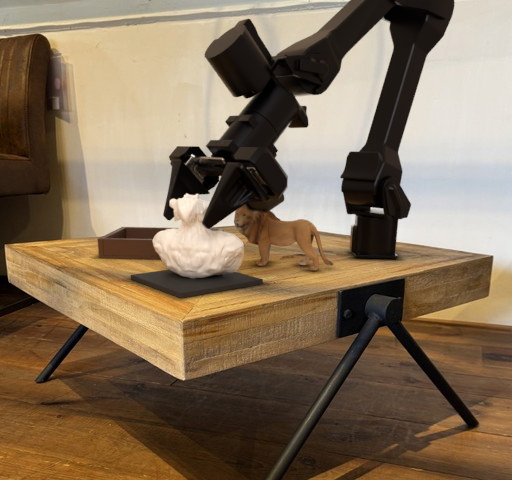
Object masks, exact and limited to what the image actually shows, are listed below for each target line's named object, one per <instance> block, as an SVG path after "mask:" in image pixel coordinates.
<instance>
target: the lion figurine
mask: <svg viewBox="0 0 512 480" xmlns="http://www.w3.org/2000/svg"><path fill="white" fill-rule="evenodd" d="M233 225H234V226H235V228H236V230H237V231H238V233H240V234H241V235H242V236H243V237H245V238H246V239H247V242H248V243H250V244H252V245H257V247H258V251H259V255H260V258H259V260H258V261H256V266H258V267H263V266H265V265H267V263H268V262H269V259H270V252H271V245H272V246H277V247H287V246H291V245H293V244H295V243H296V244H297V245H298V247H299V248H300V250H301V251H302V252H303V253H304V258H303V259H300V260H299V261H298V265H299V266H307V265H308V264H309V262H310V260H311V261H312V264H310V265H309V266H308V269H309V271H318V270H319V267H320V260H319V255H320V258H321V260H322V261H323V263H324V264H325V265H327V266H331V267H332V266H334V263H333V262H332V261H330V260H329V259H328V258H326V256H325V255H324V250H323V244H322V240H321V235H320V234H319V230H318V229H317V227H316V226H315V224H314V223H313V222H312V221H309V220H307V219H304V218H301V219H296V220H281V219H280V218H278V217H277V216H276V215H275V213H274V212H273V211H271V210H270V211H268V212H267V213H263V212H260V211H250V210H249V209H248V208H247V207H246V205H243V206H242V207H240V208H239V209H237V210H236V211H234V219H233ZM314 238H315V243H316V245H317V249H318V252H319V254H318V252H317V251H316V250H315V249H314V246H313V242H314Z"/></svg>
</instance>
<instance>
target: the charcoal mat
mask: <svg viewBox="0 0 512 480" xmlns="http://www.w3.org/2000/svg"><path fill="white" fill-rule="evenodd" d="M130 280H132V281H135V282H137V283H140V284H143V285H145V286H148V287H151V288H153V289H155V290H159V291H161V292H164V293H165V294H168V295H172V296H175V297H176V298H179V299H184V298H190V297H196V296H201V295H202V296H203V295H207V294H213V293H218V292H219V293H220V292H224V291H225V292H226V291H230V290H236V289H242V288H248V287H252V286H258V285H263V284H264V279H263V278H260V277H256V276H253V275H249V274H245V273H243V272H238V271H236V272H234V273H227V274H221V275H212V276H208V277H205V278H195V279H192V278H188V277H182V276H180V275H179V274H177V273H175V272H173V271H171V270H169V269H163V270H156V271H155V270H154V271H149V272H141V273H135V274H130Z"/></svg>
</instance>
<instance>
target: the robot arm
mask: <svg viewBox="0 0 512 480" xmlns="http://www.w3.org/2000/svg"><path fill="white" fill-rule="evenodd" d="M455 3H456V2H455V0H349V1H348V2H347V3H346V4H345V5H344V6H343V7H342V8H340V10H339V11H337V13H335V14H334V15H333V16H332V17H331V18H330V19H329V20H327V22H325V24H323V26H322V27H320V28H319V30H317V31H316V32H314V33H313V34H311V35H309V36H307V37H304V38H303V39H300V40H298V41H295V42H294V43H292V44H291V45H288V46H287V47H286V48H284V49H283V50H281V51H279V52H278V53H276V55H273V56H272V54H271V53H270V51H269V49H268V48H267V46H266V44H265V43H264V41H263V40H262V38H261V37H260V35H259V33H258V30H257V27H256V26H255V25H254V23H253V21H252V19H251V18H246V19H242V20H239V21H238V22H237V23H236V24H235V25H234V26H233V27H232V28H230V29H228V30H227V31H225V32H224V33H223V34H222V35H220V36H219V37H218V38H215V39H214V40H212V42H211V43H210V44H209V45H208V47H207V48H206V50H205V51H204V52H205V53H204V58H205V60H206V61H207V62H208V64H209V65H210V66H211V68H212V69H213V70H214V72H215V73H216V75H217V76H218V78H219V79H220V81H221V82H222V84H223V85H224V86H225V88H226V89H227V90H228V91H229V93H230V95H231V96H232V97H234V98H240V97H243V98H244V99H249V101H248V102H247V103H246V104H245V106H243V108H242V110H241V111H240V112H239V113H238V114H237V115H229V116H228V117H227V119H226V120H225V121H224V122H225V124H226V125H227V128H226V129H225V131H224V132H223V134H222V135H221V136H220V137H219V138H218V139H210V140H209V141H208V143H207V144H206V145H205V147H206V148H207V149H208V151H209V152H210V153H211V155H210V156H208V155H207V154H206V153H205V152H204V151H203V149H201V147H200V146H198V145H197V146H194V145H191V146H190V145H189V146H188V145H187V146H185V145H183V146H182V145H178V146H176V147H175V148H174V150H173V151H172V152H171V153H170V155H169V156H168V159H169V161H170V163H169V164H170V166H171V170H170V171H171V172H170V178H169V184H168V188H167V189H168V190H167V194H166V199H165V203H164V204H165V205H164V209H163V214H162V216H163V217H164V218H165V219H166V220H167V221H171V220H173V219H174V209H173V208H171V207H170V205H169V204H170V200H171V199H176V200H177V199H179V198H183V197H184V195H186V193H188V194H190V195H196V194H199V196H200V195H210V194H211V193H210V190H212V189H214V188H215V187H216V188H215V190H214V191H213V192H214V193H213V194H212V197H211V199H210V200H209V201H210V203H209V206H208V208H207V210H206V213H205V216H204V218H203V221H202V224H203V225H204V226H205V227H206V228H207V229H210V228H211V229H213V227H214V226H216V225H218V224H219V223H221V222H222V221H223V220H224V219H226V218H227V217H229V216H230V215H232V214H233V213H235V211H236V210H237V209H239V208H240V207H242V206H243V205H246V207H247V208H248V209H249V210H250V211H260V212H263V213H267V212H268V211H271V210H273V209H274V208H276V207H277V206H279V205H280V204H282V203H283V202H284V201H285V195H284V193H285V192H286V191H287V190H288V188H289V186H288V184H289V175H288V174H287V172H286V171H285V170H284V169H283V167H282V166H281V164H280V162H279V161H278V160H277V158H276V157H277V156H278V153H277V152H279V150H278V148H277V147H276V146H275V144H276V143H277V142H278V141H279V139H280V138H281V137H282V136H283V134H284V133H285V131H286V130H287V129H306V128H308V127H309V116H308V114H307V113H308V112H307V111H308V110H307V109H308V107H307V105H301V104H300V102H299V101H298V99H297V98H300V97H310V96H319V95H322V94H323V93H325V92H326V91H327V90H328V89H329V87H330V86H331V85H332V83H333V82H334V80H335V79H336V77H337V76H338V74H339V73H340V71H341V69H342V68H341V67H342V62H343V59H344V58H345V56H347V54H348V53H349V52H350V51H351V50H352V49H353V48H354V47H355V46H356V45H357V44H358V43H359V42H360V41H361V40H362V39H363V38H364V37H365V36H366V35H367V34H368V33H369V32H370V31H371V30H372V29H373V28H374V27H375V26H376V25H377V24H378V23H379V22H380V21H381V20H382V21H384V22H386V23H389V28H388V30H389V31H388V32H389V35H390V38H391V42H392V46H393V48H392V53H391V56H390V59H389V63H388V66H387V70H386V74H385V77H384V79H383V83H382V87H381V90H380V94H379V97H378V101H377V104H376V108H375V111H374V114H373V118H372V120H371V121H372V122H371V124H370V128H369V130H368V131H369V132H368V135H367V138H366V142H365V143H364V145H363V146H362V147H361V149H360V150H358V151H349V152H348V154H347V156H346V159H345V165H344V169H343V171H342V173H341V175H340V176H339V177H340V179H342V181H341V186H340V188H341V189H340V191H341V193H342V195H343V200H344V204H345V211H346V214H347V215H354V216H355V217H354V223H351V225H350V236H349V251H350V252H351V254H353V256H354V258H356V259H398V256H399V255H398V254H397V253H396V249H397V240H398V239H397V237H398V227H399V226H398V225H399V220H403V219H407V218H408V216H409V214H410V210H411V208H412V203H411V202H410V200H409V198H408V196H407V194H406V193H405V191H404V189H403V187H402V186H401V183H402V176H403V167H402V163H401V160H400V155H399V150H400V147H401V143H402V140H403V137H404V133H405V129H406V126H407V122H408V119H409V116H410V113H411V109H412V106H413V103H414V101H415V96H416V93H417V90H418V87H419V83H420V80H421V76H422V73H423V69H424V66H425V63H426V59H427V57H428V55H429V54H430V53H431V51H433V49H434V48H435V47H436V46H437V44H439V42H440V41H441V40H442V39H443V37H444V36H445V34H446V31H447V29H448V27H449V24H450V22H451V19H452V18H453V14H454V9H455Z"/></svg>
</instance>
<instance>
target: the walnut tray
mask: <svg viewBox="0 0 512 480" xmlns="http://www.w3.org/2000/svg"><path fill="white" fill-rule="evenodd" d="M175 228H176V229H178V228H179V227H158V226H157V227H156V226H155V227H152V226H151V227H150V226H149V227H147V226H121V227H119V228H117V229H115V230H113V231H111V232H109V233H107V234H104V235H103V236H100V237H98V238H97V251H98V258H99V259H129V260H131V259H133V260H134V259H135V260H136V259H137V260H161V258H160V256H159V254H158V253H157V252H156V251H155V248H154V246H153V242H152V240H153V238H154V236H155V235H156V234H157V233H158V232H160V231H163V230H166V229H175ZM210 230H212V231H215V230H218V231H225V229H224V228H210Z"/></svg>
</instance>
